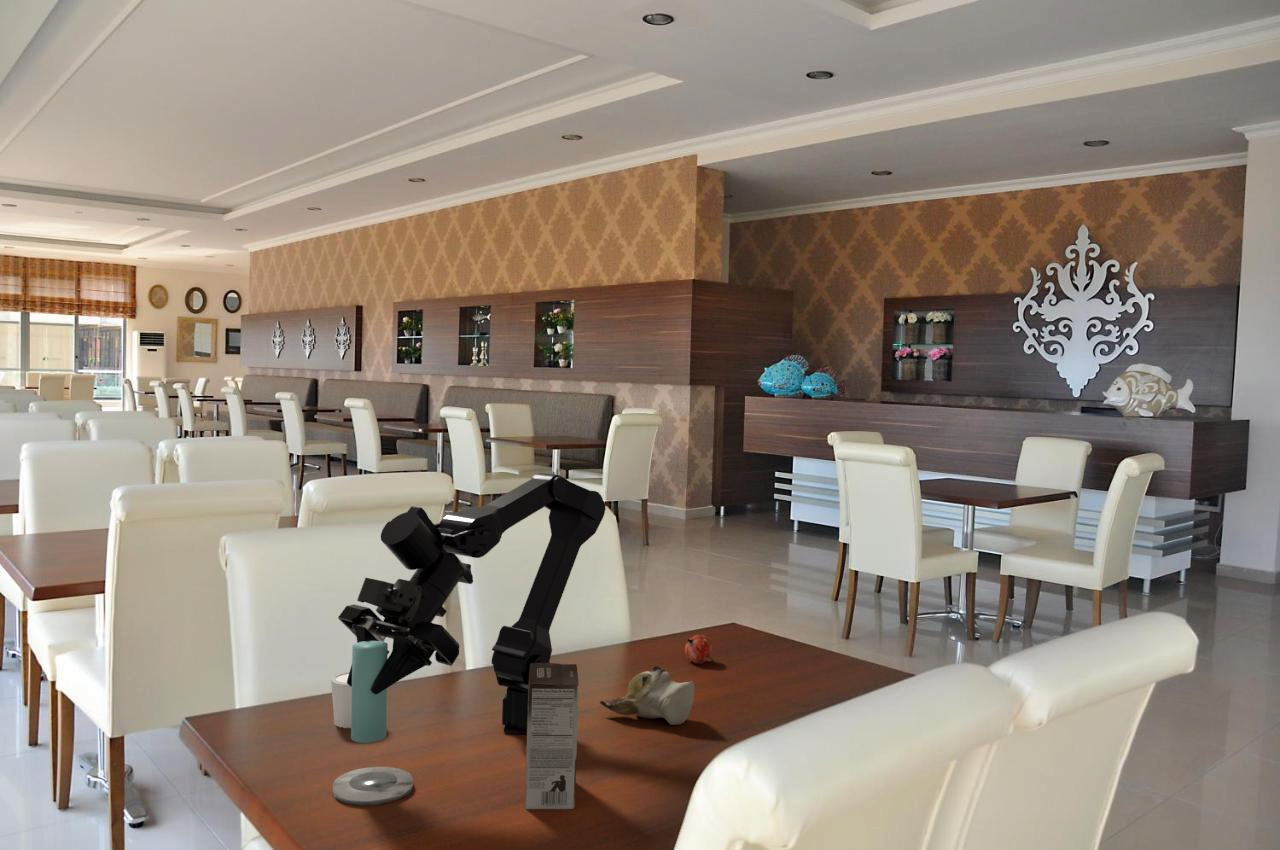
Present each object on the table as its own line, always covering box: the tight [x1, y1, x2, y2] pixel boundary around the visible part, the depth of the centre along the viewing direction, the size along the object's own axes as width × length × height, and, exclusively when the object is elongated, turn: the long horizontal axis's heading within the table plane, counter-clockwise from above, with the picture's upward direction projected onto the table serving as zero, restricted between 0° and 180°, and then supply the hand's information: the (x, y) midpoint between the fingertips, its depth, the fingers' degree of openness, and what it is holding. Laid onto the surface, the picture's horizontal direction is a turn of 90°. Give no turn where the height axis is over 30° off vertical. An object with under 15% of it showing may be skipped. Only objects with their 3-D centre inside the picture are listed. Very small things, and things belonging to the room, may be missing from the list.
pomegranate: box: [684, 634, 714, 665], centre depth 192 cm, size 6×6×8 cm
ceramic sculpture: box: [599, 665, 695, 726], centre depth 159 cm, size 11×9×15 cm
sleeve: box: [350, 641, 389, 744], centre depth 128 cm, size 4×4×12 cm
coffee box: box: [525, 662, 580, 810], centre depth 127 cm, size 9×6×16 cm
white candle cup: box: [330, 671, 352, 729], centre depth 153 cm, size 7×7×7 cm
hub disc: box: [332, 766, 414, 806], centre depth 128 cm, size 10×10×1 cm
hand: (361, 688), depth 126 cm, fingers closed on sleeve, 4 cm apart
